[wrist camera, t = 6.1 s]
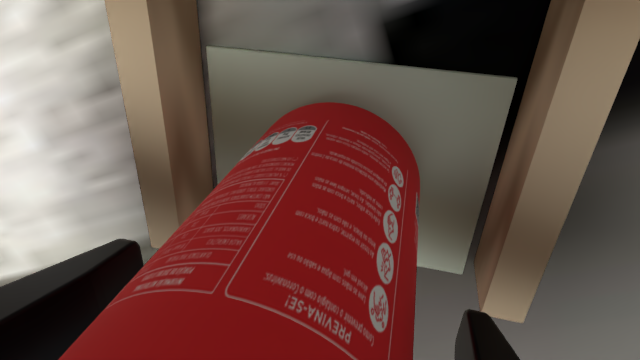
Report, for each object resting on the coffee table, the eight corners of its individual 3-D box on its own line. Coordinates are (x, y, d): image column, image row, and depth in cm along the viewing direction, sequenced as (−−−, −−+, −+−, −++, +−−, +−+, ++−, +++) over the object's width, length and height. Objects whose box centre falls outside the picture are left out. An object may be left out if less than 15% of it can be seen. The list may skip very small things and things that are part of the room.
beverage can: (415, 81, 12) (322, 866, 2) (425, 231, 14) (413, 950, 4) (250, 99, 13) (-335, 581, 3) (284, 232, 16) (8, 761, 5)
